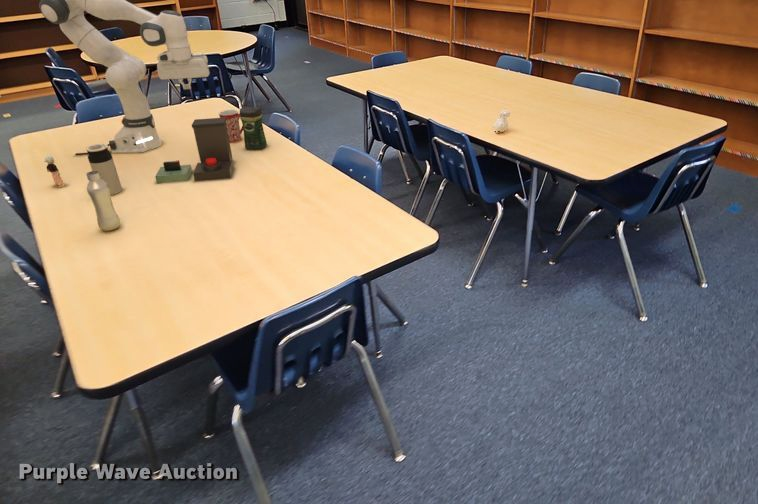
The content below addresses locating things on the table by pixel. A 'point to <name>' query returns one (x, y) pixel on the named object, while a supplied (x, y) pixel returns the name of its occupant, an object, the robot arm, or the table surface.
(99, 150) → the travel mug
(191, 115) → the table surface
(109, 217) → the plastic bottle
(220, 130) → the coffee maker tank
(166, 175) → the panel
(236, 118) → the mug
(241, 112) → the coffee jar
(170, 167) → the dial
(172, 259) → the table surface
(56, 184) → the grandmother figurine
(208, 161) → the red button
